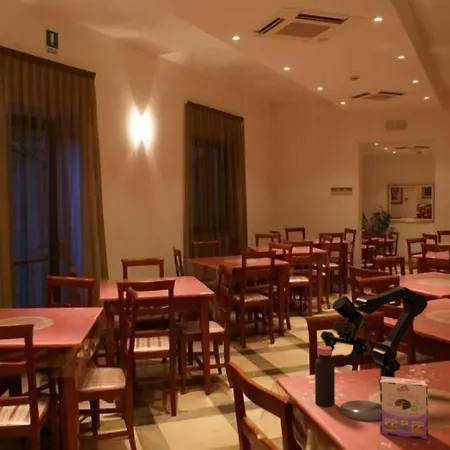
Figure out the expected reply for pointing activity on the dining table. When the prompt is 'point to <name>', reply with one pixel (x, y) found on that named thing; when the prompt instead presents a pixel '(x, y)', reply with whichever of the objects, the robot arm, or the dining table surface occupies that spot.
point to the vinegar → (324, 377)
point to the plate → (361, 410)
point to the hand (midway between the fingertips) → (336, 361)
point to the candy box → (404, 407)
